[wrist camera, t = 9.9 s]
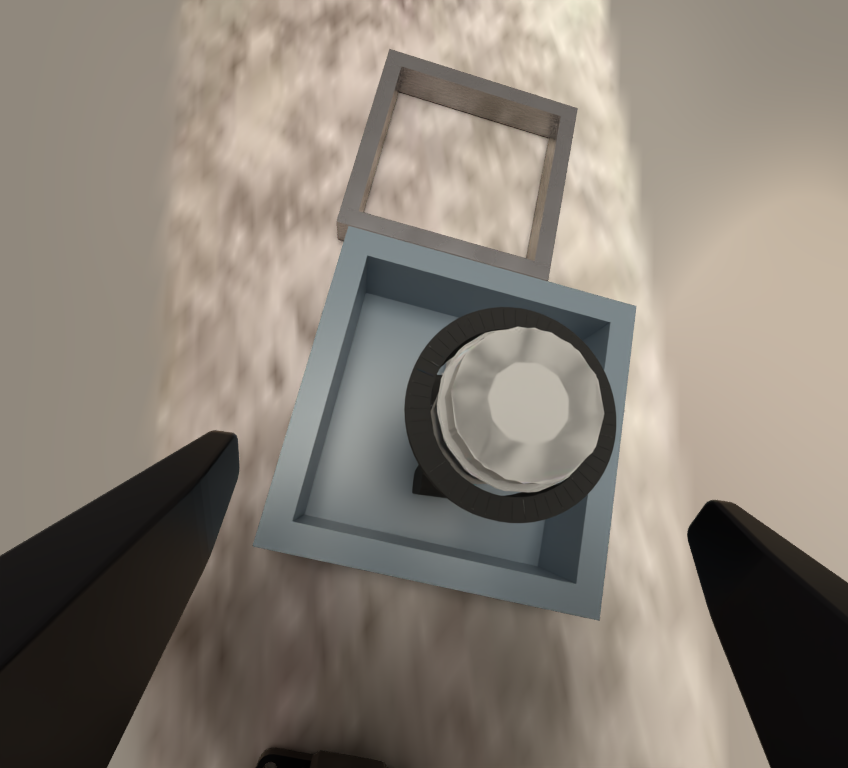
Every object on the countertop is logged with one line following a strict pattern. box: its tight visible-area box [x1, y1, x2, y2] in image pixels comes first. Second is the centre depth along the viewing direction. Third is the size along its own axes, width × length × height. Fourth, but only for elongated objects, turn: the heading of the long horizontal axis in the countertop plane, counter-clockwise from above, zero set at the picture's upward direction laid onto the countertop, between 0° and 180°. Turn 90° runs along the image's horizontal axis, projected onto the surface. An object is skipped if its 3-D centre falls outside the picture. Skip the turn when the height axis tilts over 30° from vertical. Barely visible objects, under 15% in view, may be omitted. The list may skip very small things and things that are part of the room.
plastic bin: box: [253, 226, 636, 621], centre depth 19 cm, size 12×12×4 cm
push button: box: [404, 307, 616, 523], centre depth 15 cm, size 7×5×10 cm
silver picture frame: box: [337, 49, 578, 281], centre depth 23 cm, size 10×10×2 cm
